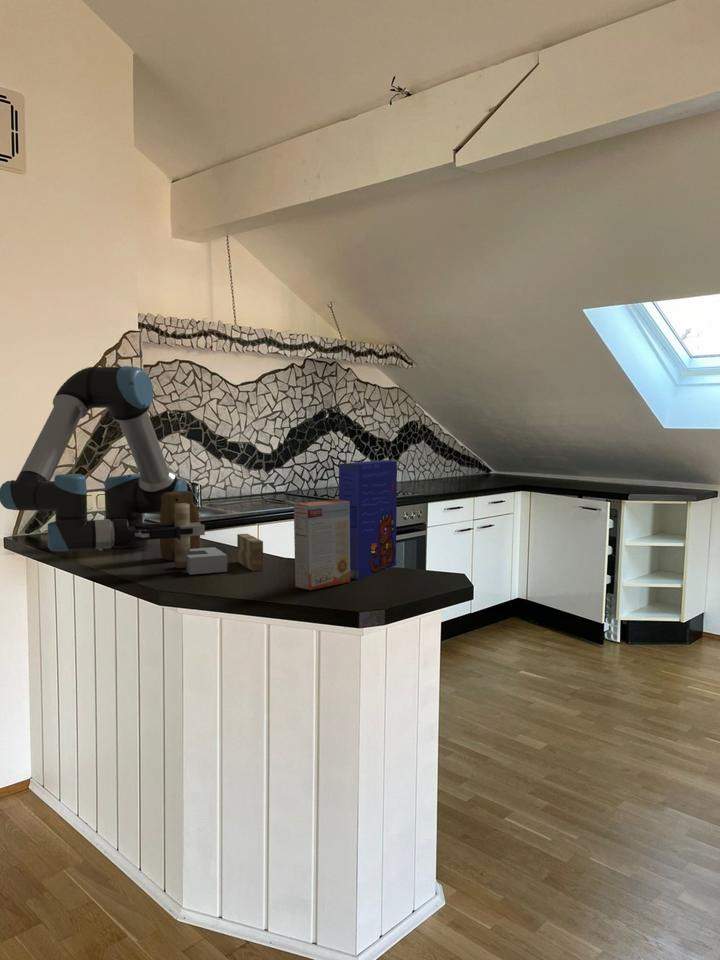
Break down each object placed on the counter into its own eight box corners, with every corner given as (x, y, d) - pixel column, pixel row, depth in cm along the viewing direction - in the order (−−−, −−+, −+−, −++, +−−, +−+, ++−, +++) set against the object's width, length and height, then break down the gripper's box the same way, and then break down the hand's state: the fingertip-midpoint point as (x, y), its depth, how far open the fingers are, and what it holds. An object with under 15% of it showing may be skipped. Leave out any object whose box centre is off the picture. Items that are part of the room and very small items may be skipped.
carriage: (179, 565, 206) (179, 549, 206) (214, 562, 211) (214, 547, 210) (189, 574, 194) (189, 557, 194) (227, 571, 198) (227, 555, 198)
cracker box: (335, 579, 191) (335, 498, 189) (351, 582, 187) (351, 500, 185) (293, 587, 181) (292, 502, 180) (308, 591, 177) (308, 504, 175)
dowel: (173, 565, 200) (173, 503, 199) (188, 564, 202) (187, 503, 200) (176, 568, 196) (175, 505, 195) (191, 567, 198) (191, 504, 197)
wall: (237, 561, 214) (237, 534, 214) (247, 560, 215) (247, 533, 215) (252, 571, 201) (252, 542, 200) (263, 570, 202) (263, 541, 201)
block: (171, 562, 212) (170, 493, 211) (157, 559, 217) (156, 491, 216) (203, 557, 220) (202, 491, 218) (189, 554, 225) (188, 489, 224)
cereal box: (377, 563, 212) (378, 459, 210) (395, 565, 210) (396, 460, 207) (338, 577, 194) (338, 463, 191) (358, 579, 191) (359, 463, 188)
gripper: (109, 543, 199) (195, 537, 209) (116, 553, 183) (209, 547, 193) (108, 515, 198) (195, 511, 208) (115, 523, 183) (209, 518, 193)
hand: (202, 528), depth 201 cm, fingers closed on dowel, 4 cm apart
